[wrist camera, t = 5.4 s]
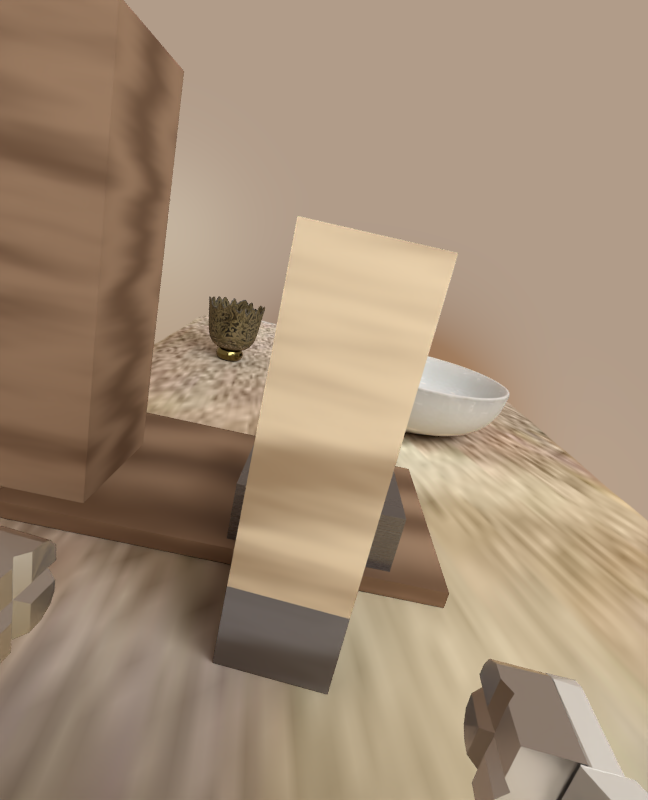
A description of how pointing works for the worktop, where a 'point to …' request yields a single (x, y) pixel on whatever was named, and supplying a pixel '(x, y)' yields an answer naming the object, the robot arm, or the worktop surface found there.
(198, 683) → the worktop surface
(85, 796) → the worktop surface
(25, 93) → the l-shaped wooden bracket
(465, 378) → the serving bowl
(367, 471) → the rail bar
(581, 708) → the robot arm
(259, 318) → the cup
